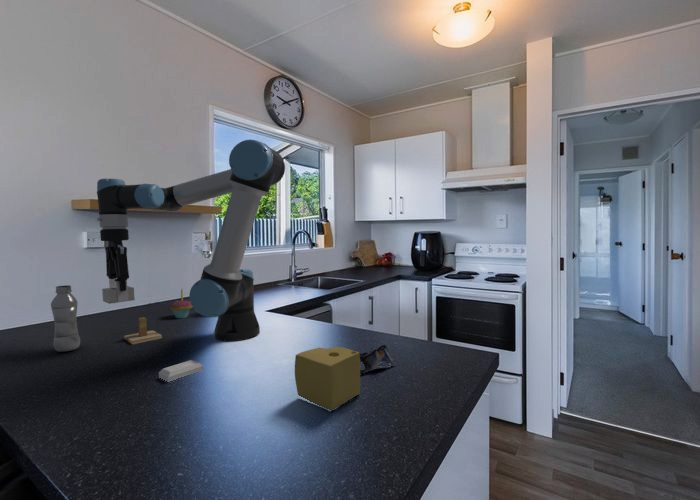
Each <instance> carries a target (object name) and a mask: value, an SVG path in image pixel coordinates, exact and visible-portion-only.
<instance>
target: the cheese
mask: <svg viewBox="0 0 700 500" xmlns="http://www.w3.org/2000/svg"><path fill="white" fill-rule="evenodd" d="M360 354H361V353H360V352H359V351H355V350H352V349H349V348H346V347H341V346H334V347H330V348H323V347H316V348H312V349H309V350H305V351H301V352H299V353H297V354H295V357H294V358H295V359H294V379H295V386H296V389H297V390H296V392H297V396H298V395H299V396H301V397H303V398H305V399H307V400H309V401H310V402H313V403H315V404H317V405H319V406H322V407H324V408H326V409H329V410H333V409H335V408H336V407H338V406H340V405H341V404H343V403H344V402H346V401H347V400H349V399H351V398H352V397H354V396H356V395H358V394H360V393H361V375H360Z"/></svg>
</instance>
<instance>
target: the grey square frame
mask: <svg viewBox="0 0 700 500" xmlns="http://www.w3.org/2000/svg"><path fill="white" fill-rule="evenodd" d="M101 291H102V302H104V303H107V304H109V305H110V304H117V303H119V302H118V300H117V287H113V288H110V287H107V288H102V289H101ZM127 291H128V301H127V302H131V301H135V300H136V299H135V288H134V287H131V286H128V285H127ZM123 302H126V301H122V302H121V303H123Z"/></svg>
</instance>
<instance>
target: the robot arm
mask: <svg viewBox="0 0 700 500" xmlns="http://www.w3.org/2000/svg"><path fill="white" fill-rule="evenodd" d="M228 164H229V167H230V169H227V170H223V171H220V172H215V173H213V174H209V175H206V176H202V177H199V178H196V179H192V180H189V181H186V182H182V183H179V184H176V185H172V186H168V187H160V186H159V185H158V184H156V183H143V184H142V183H141V184H140V183H139V184H126V182H125V180H124V179H119V178H100V179H98V181H97V183H96V184H97V185H96V186H97V187H96V189H97V191H96V196H97V203H98V215H99V217H98V218H97V222H98V221H99V227H100V228H102V229H100V231H99V232H100V236H99V237H100V240H101V242H108V243H107V246H105V247H104V250H105V251H104V252H105V262H106V277H107V278H108V282H109V283H108V285H109V288H113V287H117V300H118V303H123V302H122V301H125V302H129V301H128V291H127V286H128V279H129V278H130V272H129V264H128V254H127V253H128V247H126V246H124V244H123V241H128V240H129V237H130V235H129V229H128V227H129V221H128V219H129V217H128V210H140V209H141V210H142V209H143V210H153V211H154V210H155V211H167V212H173V211H179V210H181V209H182V208H183V207H185V206H189V205H193V204H197V203H200V202H203V201H207V200H210V199H215V198H218V197H220V196H221V197H222V196H225V195H228V194H230V197H229V201H228V203H227V207H226V210H225V213H224V214H225V215H224V218H223V221H222V223H221V227H220V231H219V234H218V238H217V241H216V244H215V247H214V252H213V254H212V258H211V261H210V263H209V264H207V265H205V266H204V267H203V270H202V273H201V276H200V279H199V280H197V281H196V282H195V283H194V284H193V285H192V286H191V288H190V290H189V295H188V296H189V301H190V302H191V305H192V306H193V309H194V311H196V313H198V314H199V315H201V316H204V317H206V318H214V317H217V320H216V323H215V327H214V330H213V333H214V337H213V338H215V339H216V340H218V341H219V340H220V341H226V342H227V341H228V342H229V341H234V340H235V341H242V340H241V339H243V340H247V339H246V338H248V339H251V338H250V337H252V338H254V337H253V336H255V337H256V335H257V334H258V335H259V334H260V331H261V329H260V328H261V327H260V324H259V321H258V318H257V315H256V312H255V302H254V301H255V299H254V297H255V296H254V294H255V291H254V287H255V286H254V281H255V279H254V274H253V273H254V272H253V271H252V270H251V269H249V268H248V269H247V268H243V269H242V268H241V265H242V262H243V260H244V259H243V258H244V255H245V252H246V250H247V246H248V242H249V239H250V236H251V233H252V229H253V226H254V223H255V219H256V217H257V216H256V215H257V213H258V211H259V207H260V203H261V200H262V198H263V197H264V196H265V195H268V194H269V192H270V188H271V186H273V185H276V184H277V183H279V182H280V181H281V180H282V179H283V178H284V175H285V172H286V163H285V161H284V158H283V157H282V155H281V154H280V153H279V152H277V150H275V149H273V148H271V147H270V146H268V145H267V144H266V143H264V142H262V141H259V140H255V139H244V140H242V141H240V142H239V143H237V144H236V145H235V146H233V148H232V149H231V151H230V153H229V157H228ZM258 335H257V336H258Z"/></svg>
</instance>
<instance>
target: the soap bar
mask: <svg viewBox="0 0 700 500" xmlns="http://www.w3.org/2000/svg"><path fill="white" fill-rule="evenodd" d="M202 370H203V371H204V365H203V364H201V363H199V362H197V361H194V360H192V359H190V360H186V361H183V362H180V363H178V364H174V365H171V366H167V367H164V368H162V369H161V370H160V371H158V378H159V379H160V378H161V379H160V380H162V379H163V380H162V381H164V380H165V381H164V382H166V381H167V382H170V381H173V380H176V379H178V378H181V377H184V376H187V375H190V374H193V373H196V372H199V371H202ZM203 371H202V372H203ZM199 373H200V372H199ZM196 374H197V373H196ZM193 375H194V374H193ZM176 381H177V380H176ZM167 382H166V383H167ZM173 382H174V381H173ZM170 383H171V382H170Z"/></svg>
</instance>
